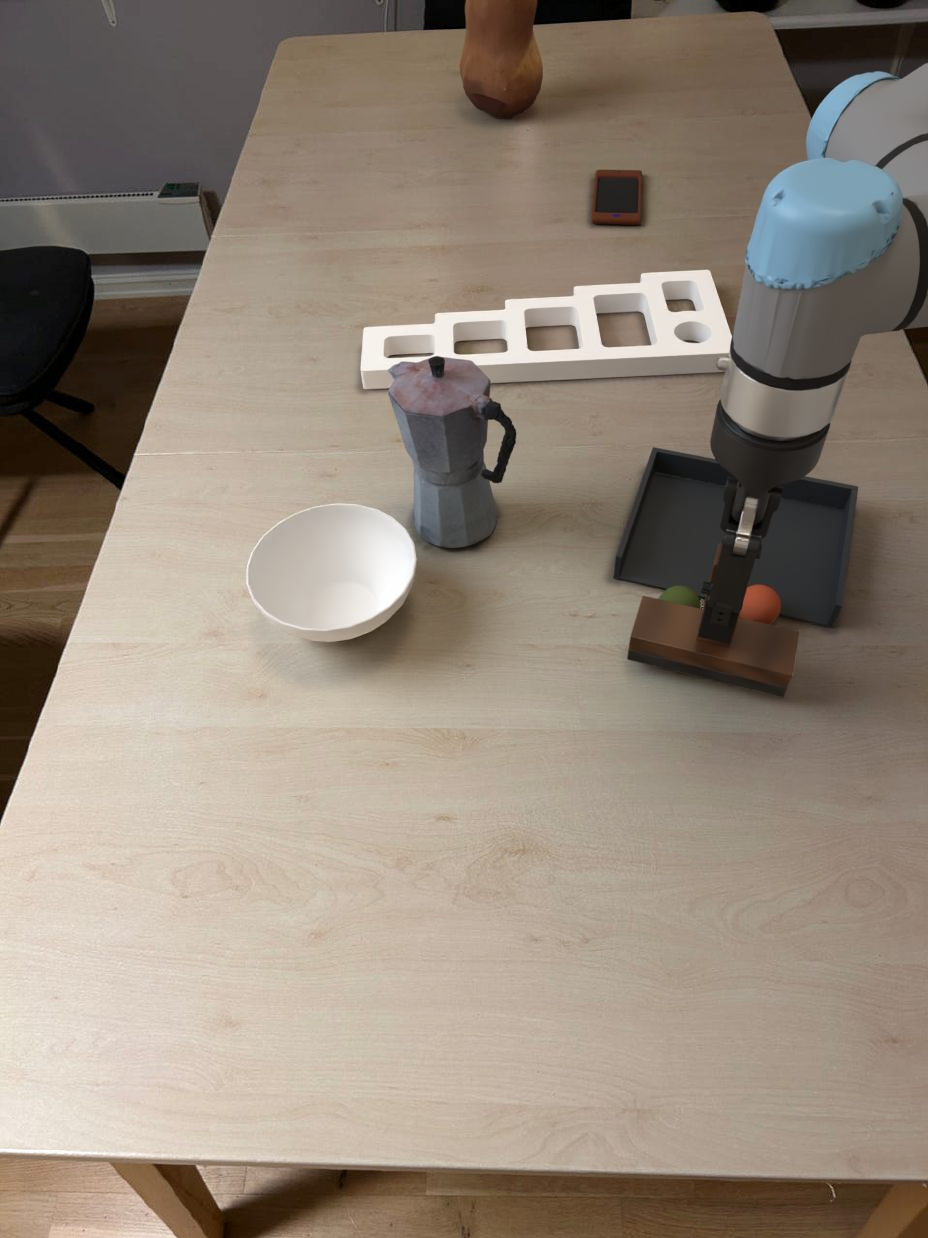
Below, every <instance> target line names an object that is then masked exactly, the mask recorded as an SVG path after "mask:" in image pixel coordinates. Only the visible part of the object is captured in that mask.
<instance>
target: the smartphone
mask: <svg viewBox="0 0 928 1238" xmlns="http://www.w3.org/2000/svg"><path fill="white" fill-rule="evenodd" d="M593 188H594V189H593V197H592V209H591V223H592V224H595V225H631V226H636V225H637V226H638V225H640V224H641V223H642V201H643V200H642V197H643V195H642V194H643V193H642V192H643V171H642V170H639V169H597V170H595V175H594V185H593Z"/></svg>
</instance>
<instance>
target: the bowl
mask: <svg viewBox="0 0 928 1238" xmlns="http://www.w3.org/2000/svg"><path fill="white" fill-rule="evenodd" d="M417 564H418V558H417V552H416V546H415V542H414V541H413V539H412V537H411V535H410V534H409V531H408V530H407V528H405V527H404V526H403V525H402V524H401V523H400V522H399V521H398V520H397V519H396V518H395V517H393V516H391V515H389V514H387V513H385V512H383V511H382V510H379V509H377V508H375V507H371V506H367V505H362V504H359V503H342V502H341V503H340V502H339V503H338V502H337V503H329V504H320V505H315V506H311V507H309V508H306V509H302V510H300V511H297V512H294V513H292V515H289V516H288V517H285V518H284V519H281V521H278V522H277V523H276V524H274V525H273V526H272V527H271V528H270V529H269V530H268V531H266V533H264V534H263V535H262V536H261V537H260V539H259V540H258V542H257V543H256V545H254V548H253V549H252V550H251V553H250V555H249V559H248V561H247V565H246V569H245V570H246V573H245V574H246V575H245V576H246V577H245V578H246V587H247V590H248V592H249V595H250V597H251V599H252V602H253V603H254V605H255V607H256V608H257V609H258V610H259V612H260V613H261V614H262V615H263V616H264V617H265V618H266V619H267V621H269V622H270V623H271V624H272V625H274V626H275V627H277V628H279V629H280V630H281V631H284V633H287V634H289V635H290V636H294V637H298V638H301V639H304V640H308V641H311V642H325V643H326V642H328V643H335V642H340V641H348V640H352V639H355V638H358V637H360V636H363V635H366V634H368V633H371V632H373V631H374V630H376V629H377V628H379V627H380V626H382V625H383V624H385V623H386V622H388V620H390V619H391V618H392V616H393V615H395V614H396V612H397V611H398V610H399V609H400V608H401V607H402V606H403V605H404V603H405V601H406V599H407V597H408V596H409V594H410V592H411V590H412V588H413V585H414V582H415V577H416V571H417V566H418V565H417Z"/></svg>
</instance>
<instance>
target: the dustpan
mask: <svg viewBox="0 0 928 1238" xmlns="http://www.w3.org/2000/svg"><path fill="white" fill-rule="evenodd" d="M728 477H729V472H727V471H726V470H725V469H724V468H722V467H721V466H720V464H719V463H718V462H717V461H716V459H715V458H712V457H707V456H703V455H702V456H701V455H696V454H692V453H685V452H681V451H676V450H669V449H665V448H660V447H655V446H653V447H652V448H651V452H650V454H649V457H648V460H647V463H646V467H645V469H644V471H643V475H642V478H641V480H640V484H639V487H638V489H637V492H636V496H635V498H634V502H633V505H632V508H631V510H630V513H629V517H628V519H627V523H626V525H625V528H624V531H623V534H622V537H621V539H620V543H619V545H618V548H617V552H616V555H615V559H614V560H615V561H614V568H613V569H614V570H613V579H616V580H620V581H623V582H629V583H633V584H638V585H643V586H646V587H650V588H656V589H659V590H664V591H665V590H667V589H668V588H670V587H673V586H685V587H688V588H690V589H692V590H693V591H694V592H695V593H696V594H697V596H698V597H699V599H703V600H705V598H706V594H703V593H701V590H702V586H703V582H704V581H707V582H709V581H710V577H711V573H712V569H713V564H714V560H715V556H716V552H717V548H718V545H719V544H721V541H722V537H723V535H724V534H725V532H724V531H723V530H721V528H720V524H721V520H722V516H723V511H724V507H725V502H724V500H723V496H724V492H725V488H726V483H727V479H728ZM781 487H783V492H782V496H781V500H780V503H779V507H778V509H777V511H775V512H774V513H773V515H772V518H771V522H770V525H769V529H768V532H767V535H766V537H765V538H762V539H761V540H762V542H761V543H762V550H761V555H760V559H755V562H754V565H753V569H752V573H751V577H750V580H749V584H748V587H749V586H752V585H765V586H768V587H770V588H772V589H773V590H774V591H775V592H776V593H777V594H778V596H779V598H780V601H781V610H780V613H779V615H778V617H782V618H787V619H790V620H794V621H800V622H804V623H809V624H812V625H817V626H821V627H825V628H830V629H834V626H835V624H836V622H837V620H838V617H839V615H840V612H841V610H842V608H843V603H844V596H845V588H846V581H847V574H848V566H849V559H850V551H851V544H852V536H853V530H854V529H853V528H854V522H855V514H856V506H857V501H858V493H859V486H858V485H855V484H848V483H844V482H837V481H832V480H828V479H822V478H817V477H811V476H807V475H806V476H804V477H803V478H801V479H799V480H796V481H793V482H790V483H786V484H783V485H782V486H781ZM763 518H764V516H763ZM763 518H762V519H763ZM748 587H747V588H748Z"/></svg>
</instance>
